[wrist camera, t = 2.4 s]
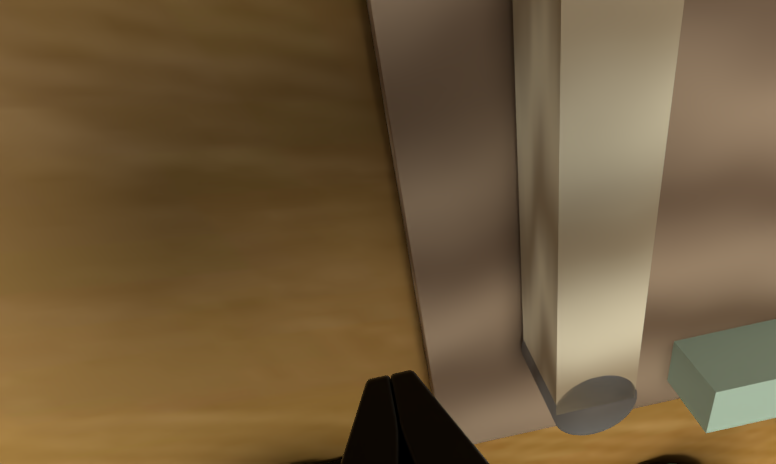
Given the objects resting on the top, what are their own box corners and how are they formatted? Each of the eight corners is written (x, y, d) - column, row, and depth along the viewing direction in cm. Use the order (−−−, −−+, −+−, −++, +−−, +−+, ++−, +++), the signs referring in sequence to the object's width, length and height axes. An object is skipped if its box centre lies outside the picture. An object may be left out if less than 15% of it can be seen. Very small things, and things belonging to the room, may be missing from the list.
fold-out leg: (593, 359, 25) (633, 424, 22) (522, 375, 25) (553, 442, 22) (619, -60, 16) (693, -45, 13) (507, -38, 16) (557, -19, 13)
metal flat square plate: (834, 337, 29) (858, 358, 28) (437, 425, 28) (443, 450, 27) (1034, -187, 17) (1093, -193, 16) (356, -58, 16) (361, -52, 15)
